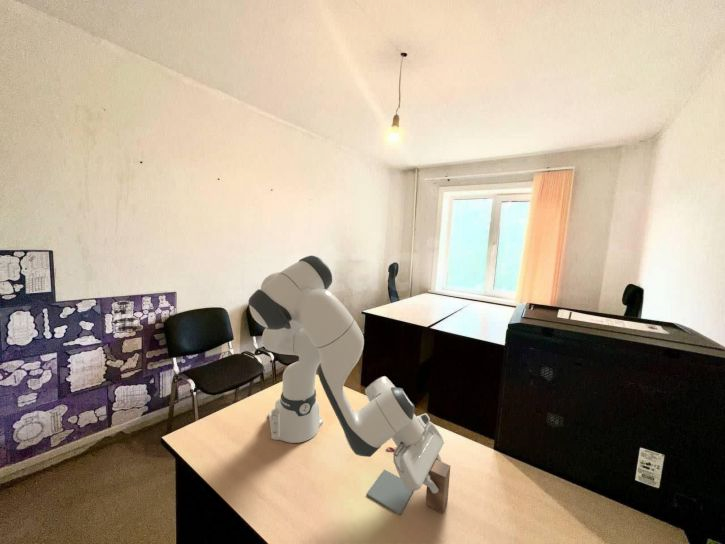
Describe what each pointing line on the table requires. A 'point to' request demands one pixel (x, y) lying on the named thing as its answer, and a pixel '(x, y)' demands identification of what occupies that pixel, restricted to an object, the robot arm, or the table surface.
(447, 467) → the walnut block
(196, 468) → the table surface
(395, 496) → the slate mat
